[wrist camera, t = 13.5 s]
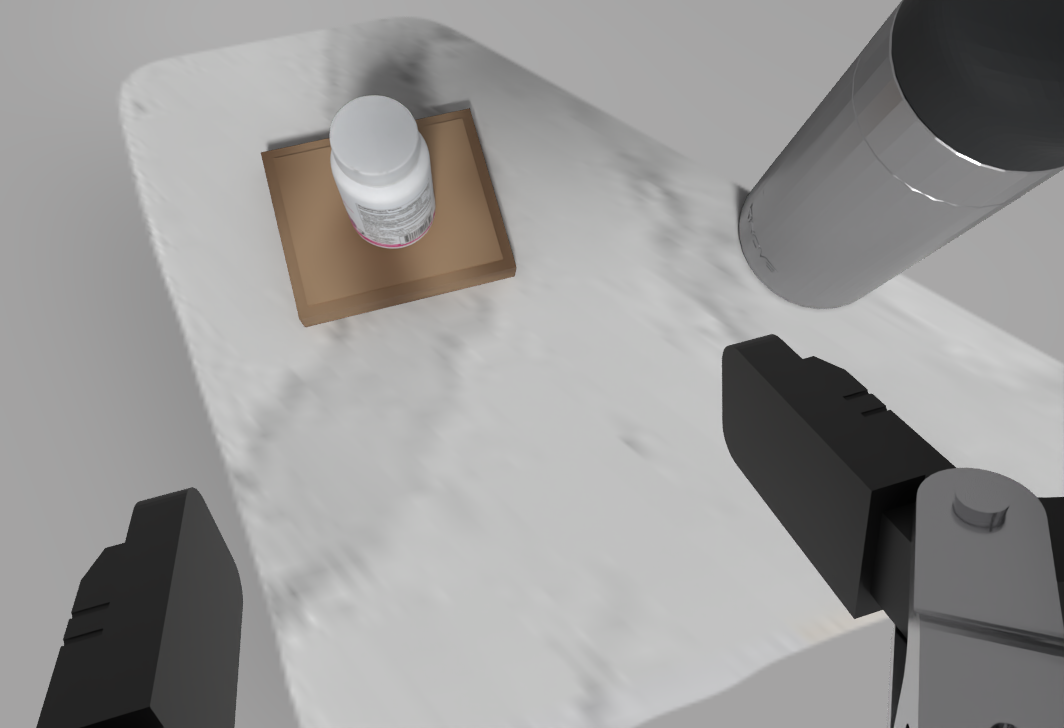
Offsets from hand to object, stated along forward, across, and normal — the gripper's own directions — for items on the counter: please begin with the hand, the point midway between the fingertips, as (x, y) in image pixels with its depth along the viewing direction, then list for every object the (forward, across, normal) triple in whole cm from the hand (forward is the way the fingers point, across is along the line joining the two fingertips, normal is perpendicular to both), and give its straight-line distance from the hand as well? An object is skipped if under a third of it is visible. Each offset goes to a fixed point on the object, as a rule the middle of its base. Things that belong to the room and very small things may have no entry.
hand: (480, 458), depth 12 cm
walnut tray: (+34, 0, +9) cm, 35 cm away
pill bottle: (+33, 0, +8) cm, 34 cm away
